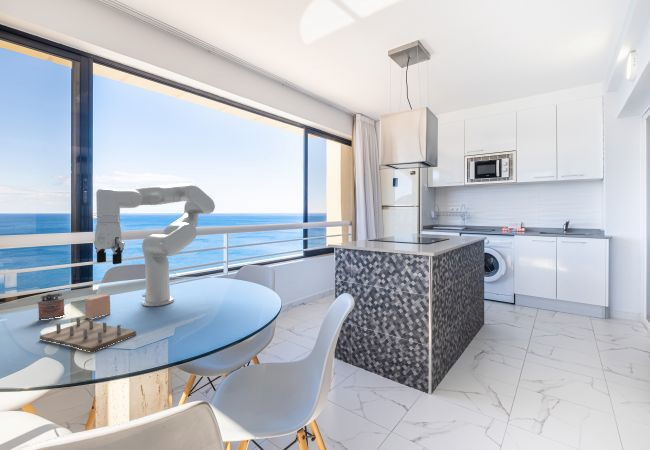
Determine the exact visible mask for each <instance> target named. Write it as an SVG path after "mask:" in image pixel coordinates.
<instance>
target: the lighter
mask: <svg viewBox="0 0 650 450" xmlns="http://www.w3.org/2000/svg"><path fill="white" fill-rule="evenodd" d="M40 296H41V300H37V306H38V307H37V309H38V319H39V320H41V319H49V318H55V317H60V316H63V315H65V316H66V314H65V297H62V296H63V293H62V292H57V293H56V292H55V293H52V292H50V293H48V294H42V295H40Z"/></svg>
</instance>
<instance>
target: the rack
mask: <svg viewBox="0 0 650 450" xmlns="http://www.w3.org/2000/svg"><path fill="white" fill-rule="evenodd" d="M75 320H76V324H73V325H70V326H67V327H64V328H61V323H60V322H57V323H56V324H55V325H56V330H54V331H51V332H47V333H44V334H42V335H39V340H40V339H42V340H46V341H51V342H56V343H60V344H65V345H70V346H73V347H77V348H79V349H82V350H86V351H90V352H93V353H95V352H94V351H96V350H98V349H100V348H103V347H106V346H108V345H111V344H113V343H115V344H117V343H116V342H118V341H120V342H122V341H121V340H123V341H125V340H127V339H126V338H128V337H130V338H132V337H131V336H133V335H135V336H136V335H137V331H136V330H133V329H128V328H124V327H121V326H122V325H121V324H117V325H116V326H113V325H109V324H108V325H107V322H106V321H104V322H102V323H97V322H94V320H90V319H88V320H89V321H86V320H85V321H83V322H81V317H79V316H77V317H76V319H75ZM133 337H134V336H133ZM124 339H125V340H124ZM128 339H129V338H128ZM118 343H119V342H118ZM113 345H114V344H113ZM111 346H112V345H111ZM108 347H109V346H108ZM106 348H107V347H106ZM103 349H104V348H103ZM98 351H99V350H98ZM96 352H97V351H96Z"/></svg>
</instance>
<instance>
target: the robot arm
mask: <svg viewBox="0 0 650 450" xmlns="http://www.w3.org/2000/svg"><path fill="white" fill-rule="evenodd" d="M95 200H96V223H95V224H96V225H95V232H94V241H93V244H94V249H95V253H96V263H99V264H100V263H106V262H107V252H106V250H111V251H112V255H111V256H112V265H119V264H120V265H121V264H122V262H123V261H122V259H123V257H122V256H123V255H122V254H123V253H124V252H123V251H124V248H125V245H126V244H125V242H124V240H122V230H121V229H122V227H121V213H120V211H121V209H135V208H138V207H139V206H158V205H166V204H167V205H168V204H173V203H180V202H185V204H184V210H183V211H184V213H183V215H182V216H181V217H180V218H178V219H176V220H175V221H172V223H170V224H168V225H167V226H166V227H165V228H164V229H163V232H162V234H159V233H154V234H150V235H147V236H146V237H145V238H144V239H143V241H142V245H141V250H142V253H143V257H144V266H145V293H142V295H141V296H142V297H143V298H145V299H144V300H143V301H142V305H143V306H144V307H160V306H165V305H169V304H171V303H172V302H174V300H175V299H174V297H173V296H171V293H170V292H171V291H170V290H171V289H170V265H169V258H168V257H172V256H175V255H177V254H178V253H180V252H182V251H183V250H184V249H185V248H187V246H189V245H190V244H192V243H193V242H194V241H195V239H196V237H197V235H198V234H197V233H198V232H197V227H198V223H199V215H210V214H212V213H213V212H214V211H215V209H216V204H215V202H214V200H213V199H212V197H210V196H209V194H207V193H206V192H204V191H203V190H202V189H201V188H200V187H199V186H197V185H195V184H193V183H178V184H167V185H155V186H147V187H142V188H132V189H131V188H130V189H120V190H119V189H114V188H113V189H112V188H99V189H97V191H96V199H95Z"/></svg>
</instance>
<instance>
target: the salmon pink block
mask: <svg viewBox="0 0 650 450" xmlns="http://www.w3.org/2000/svg"><path fill="white" fill-rule="evenodd" d="M110 297H111V296H110V294H98V295H95V296H91V297H87V298H85V299H84V310H85V311H84V312H85V313H84V314H85V318H86V317H89V318H95V317H99V316H102V315H106V314H110V313H111V298H110ZM110 315H111V314H110Z"/></svg>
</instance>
